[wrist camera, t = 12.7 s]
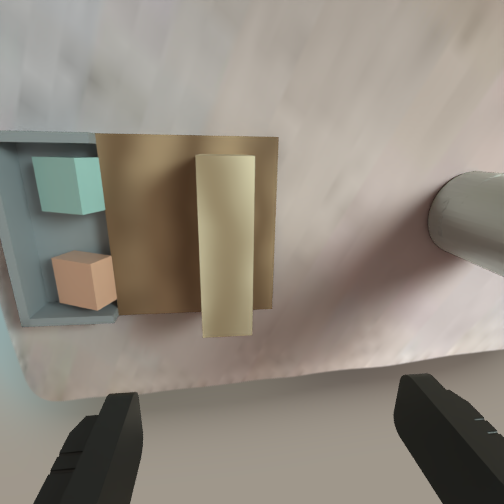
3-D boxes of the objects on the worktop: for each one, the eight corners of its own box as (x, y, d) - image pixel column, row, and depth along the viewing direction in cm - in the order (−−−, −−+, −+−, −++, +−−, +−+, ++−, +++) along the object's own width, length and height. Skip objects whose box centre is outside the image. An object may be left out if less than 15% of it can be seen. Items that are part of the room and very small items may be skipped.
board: (273, 138, 30) (278, 137, 28) (268, 298, 35) (271, 308, 33) (104, 134, 28) (94, 133, 26) (125, 303, 34) (118, 315, 31)
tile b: (111, 255, 29) (90, 264, 27) (117, 299, 31) (97, 310, 28) (74, 250, 31) (51, 258, 28) (81, 292, 32) (59, 302, 30)
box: (104, 134, 28) (88, 132, 25) (125, 303, 34) (114, 322, 30) (7, 132, 27) (-26, 130, 24) (44, 306, 33) (21, 327, 29)
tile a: (98, 157, 27) (73, 157, 24) (105, 210, 28) (82, 215, 26) (58, 156, 28) (31, 156, 26) (66, 206, 29) (42, 211, 27)
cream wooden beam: (245, 154, 28) (255, 156, 21) (244, 297, 32) (252, 335, 26) (200, 153, 27) (195, 155, 21) (205, 298, 32) (202, 337, 25)
